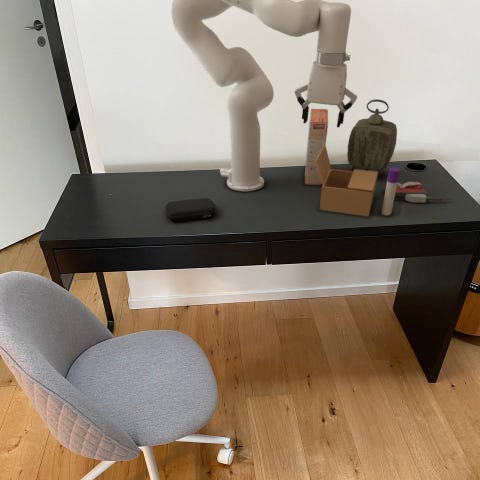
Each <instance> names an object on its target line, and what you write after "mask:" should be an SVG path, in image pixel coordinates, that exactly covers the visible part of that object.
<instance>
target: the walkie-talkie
mask: <svg viewBox="0 0 480 480" xmlns="http://www.w3.org/2000/svg"><path fill="white" fill-rule="evenodd" d="M427 194H428V191H426V187H425V186H424V185H423V184H422V183H421V182H419V181H406V182H404V183H402V184H401V183H400V182H397V187H396V192H395V197H394V201H396V200H399V201H406V202H409V203H422V204H423V203H424V204H425V203H427V202H428V201H442V200H443V201H444V200H446V201H447V200H452V197H451V196H427Z"/></svg>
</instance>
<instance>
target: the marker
mask: <svg viewBox="0 0 480 480" xmlns="http://www.w3.org/2000/svg"><path fill="white" fill-rule="evenodd" d="M400 174H401V168H398V167H396V166H395V167H394V166H391V167H389V169H388V174H387V178H386V187H385V191H384V196H383V201H382V207H381V214H382V215H383V216H391V215H392V212H393V206H394V202H395V200H394V197H395V192H396V187H397V183H399V178H400Z"/></svg>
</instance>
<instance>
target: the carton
mask: <svg viewBox="0 0 480 480" xmlns="http://www.w3.org/2000/svg"><path fill="white" fill-rule="evenodd" d="M378 175H379V172H378V171H375V170H368V171H366V169H357V168H356V169H354V170H344V169H343V170H342V169H335V168H330V170H329V172H328V174H327V176H326V178H325V180H324V182H323V184H321V190H320V191H321V192H320V201H319V202H320V203H319V211H326V212H334V213H341V214H347V215H356V216H360V217H361V216H363V217H369V216H370V213H371V209H372V205H373V201H374V198H375V192H376V185H377V180H378V177H379V176H378Z"/></svg>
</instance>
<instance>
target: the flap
mask: <svg viewBox="0 0 480 480" xmlns="http://www.w3.org/2000/svg"><path fill="white" fill-rule="evenodd" d="M326 145H327V144H326ZM326 145H324V146H323V148H322V150H321V151H320V153H319V155H318V157H317V159H316V161H315V162H316V166H317V169H318V173H319V177H320V181H321V185H323V183H324V181H325V179H326V177H327V175H328V173H329V170H330V169H331V168H332V166H331V161H330V158H329V154H328V149H327V146H326Z"/></svg>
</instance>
